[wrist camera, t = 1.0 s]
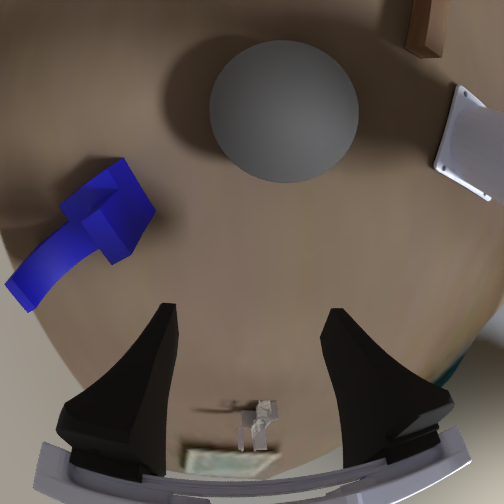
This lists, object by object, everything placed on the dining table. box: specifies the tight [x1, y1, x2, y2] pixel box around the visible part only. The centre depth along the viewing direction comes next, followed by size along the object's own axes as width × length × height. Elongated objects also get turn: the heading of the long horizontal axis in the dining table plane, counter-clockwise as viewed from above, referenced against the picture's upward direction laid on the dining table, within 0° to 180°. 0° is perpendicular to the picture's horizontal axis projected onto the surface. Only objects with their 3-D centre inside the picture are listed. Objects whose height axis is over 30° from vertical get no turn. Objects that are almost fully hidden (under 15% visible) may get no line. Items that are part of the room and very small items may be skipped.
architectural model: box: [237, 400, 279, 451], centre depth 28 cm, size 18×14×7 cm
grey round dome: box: [209, 40, 359, 183], centre depth 14 cm, size 8×8×4 cm
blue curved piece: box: [5, 158, 155, 313], centre depth 16 cm, size 12×4×6 cm, turn 114°
